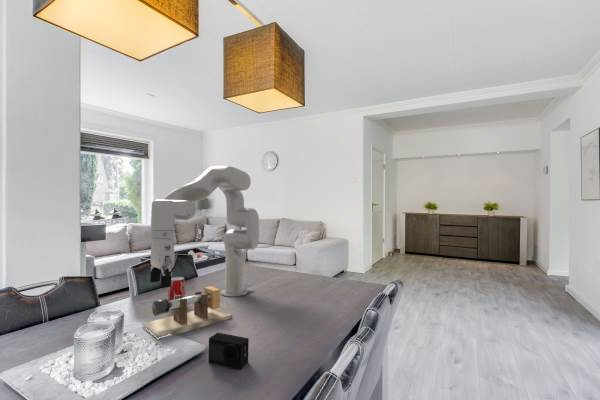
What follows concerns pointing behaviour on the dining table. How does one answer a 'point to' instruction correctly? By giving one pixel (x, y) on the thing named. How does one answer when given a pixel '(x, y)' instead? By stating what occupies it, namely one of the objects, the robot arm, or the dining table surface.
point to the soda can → (176, 288)
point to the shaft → (174, 303)
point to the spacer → (213, 297)
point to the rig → (187, 318)
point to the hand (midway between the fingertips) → (160, 284)
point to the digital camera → (228, 350)
